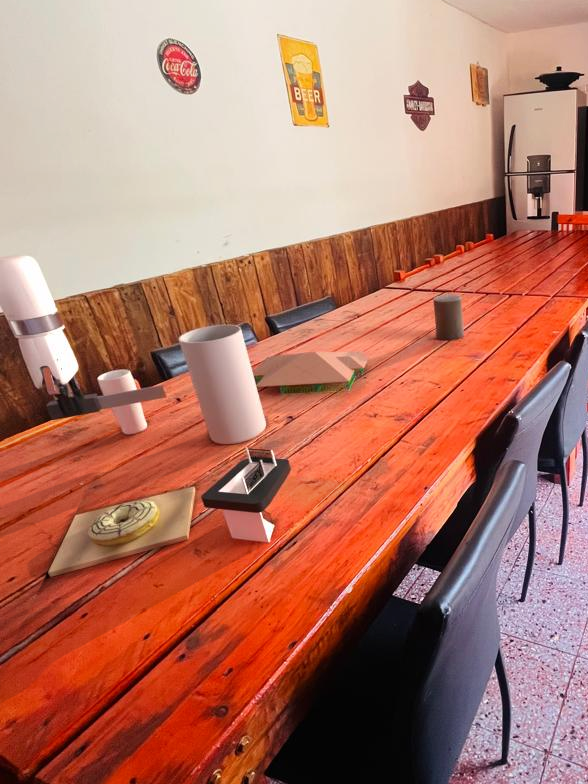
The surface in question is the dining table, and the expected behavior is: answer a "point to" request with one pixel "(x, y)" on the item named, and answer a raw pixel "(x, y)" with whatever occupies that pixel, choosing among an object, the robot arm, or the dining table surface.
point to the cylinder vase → (224, 383)
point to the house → (310, 369)
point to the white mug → (126, 415)
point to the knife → (109, 400)
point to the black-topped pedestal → (249, 494)
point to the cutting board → (167, 531)
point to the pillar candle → (448, 317)
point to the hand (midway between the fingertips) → (76, 411)
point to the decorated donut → (123, 523)
